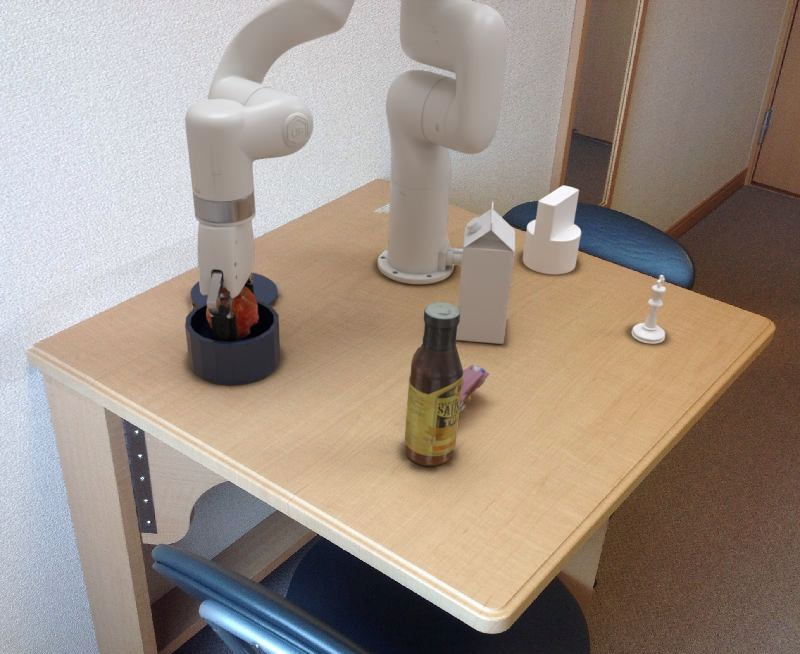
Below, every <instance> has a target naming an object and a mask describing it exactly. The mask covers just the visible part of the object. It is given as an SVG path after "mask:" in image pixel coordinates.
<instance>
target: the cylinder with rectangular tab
mask: <svg viewBox="0 0 800 654" xmlns="http://www.w3.org/2000/svg"><path fill="white" fill-rule="evenodd" d="M579 193H580V189H578V188H576V187H572V186H568V185H563V184H562V185H561V186H559V187H558V188H557V189H555V190H553V191H551V192H550V193H549V194H547V195H545V196H544V197H542V198H541V199H539V200H537V209H536V216H535V219H533V220H531V221H529V222H528V224H527V225H526V230H525V231H526V232H525V238H524V245H523V246H524V247H523V253H522V262H523V264H524V265H525V266H526V267H527V268H529V270H532V271H533V272H537V273H540V274H544V275H564V274H568V273H570V272H572V271H574V270H575V268H576V265H577V259H578V255H579V247H580V241H581V236H582V230H581V228H580V226H578V225H577V224H575V218H576V211H577V208H578V207H577V206H578V199H579V195H580V194H579Z"/></svg>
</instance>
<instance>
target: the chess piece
mask: <svg viewBox="0 0 800 654" xmlns="http://www.w3.org/2000/svg"><path fill="white" fill-rule="evenodd" d="M665 281H666V278H665V275H663V274H660V275H659V277H658V280H656V282H655V284H653V285H652V286H651V293H652V298H649V299H648V301H647V303H648V304H649V306H650V309H649V312H648V313H647V316H646V319H645V321H644V322H640V323H636V324H635V325H633V327H632V329H631V336H632V337H633V338H634V339H635V340H637V341H638V342H641V343H644V344H648V345H650V344H651V345H657V344H660V343H662V342H663V341H665V339H666V331H665V330H664V329H663V328H662V327H661V326H659V325H658V324H657V319H658V310H659V307H662V306H663V305H664V302H663V300H662V297H663V296H664V294H666V291H667V288H666V287H665V286H664V285H663V283H664V282H665Z"/></svg>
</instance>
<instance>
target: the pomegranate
mask: <svg viewBox="0 0 800 654" xmlns="http://www.w3.org/2000/svg"><path fill="white" fill-rule="evenodd" d="M221 293H225V294H229V293H230V291H227V289H223V288H222V291H221ZM220 302H221V305H224V306H225V307H226V308H227V304H228V299H227V298H220ZM233 315H236V321H237V334H238V340H241V339H243V338H244V337H246V336H248V335H249V334H250V327H251V326H253V325H255V324H257V323H259V324H261V322H258V319H259V316H258V306H257V302H256V299H255V297H254V295H253V293H252V292H251V291H250V290H249V289H248V288H247V287H246V286H244V287H243V288H242V290H241V292H240V293H239V295H237V296H236V297H235V298H234V310H233ZM206 317H207V321H208V323H209V324H210V327H211V328H212V321H211V317H210V311H209V308H208V307H207V311H206Z"/></svg>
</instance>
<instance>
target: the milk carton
mask: <svg viewBox="0 0 800 654" xmlns="http://www.w3.org/2000/svg"><path fill="white" fill-rule="evenodd" d="M494 204H495V202H494V201H492V202H491V208H490V209H489V210H487V211H486V212H484V213H483V214H481V215H480V216H476V217H473V218H472V219H470V220H469V222H468V223H467V224H466V225H465V227H464V235H463V236H464V237H463V244H462V249H463V254H462V265H460V277H459V289H458V301H457V308H458V309H459V310H460V322H459V324H458V325H457V334H456V341H463V342H476V343H484V344H485V343H487V344H499V345H503V344H504V343H505V336H506V329H507V328H506V327H507V319H508V311H509V304H510V295H511V288H512V278H513V270H514V261H515V254H516V229H515V228H513V226H511V225H510V224H509V223H508V222H507V221H506V220H505V219H504V218H503V217H502V216H501V215H500V214H499V213H498V212H497V211H496V210H495V209H494V206H495V205H494Z"/></svg>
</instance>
